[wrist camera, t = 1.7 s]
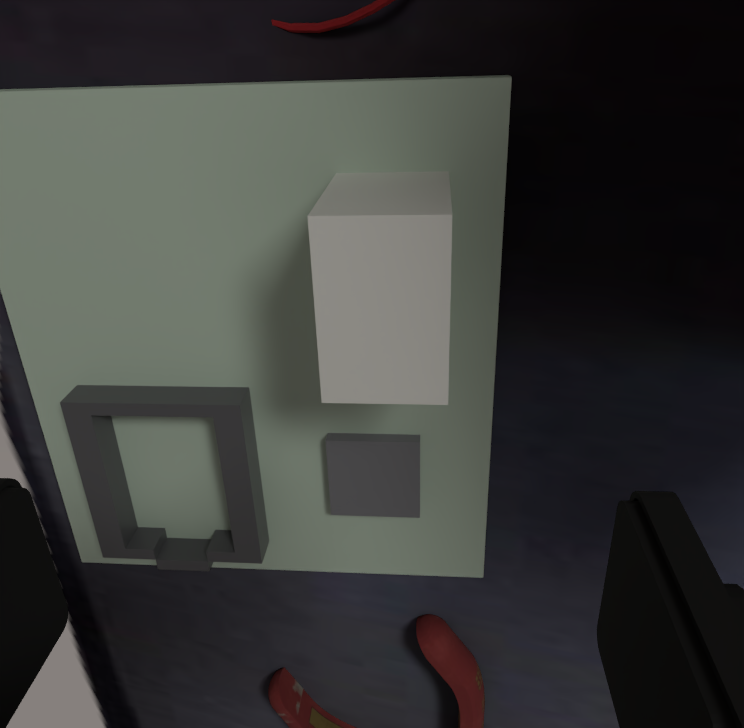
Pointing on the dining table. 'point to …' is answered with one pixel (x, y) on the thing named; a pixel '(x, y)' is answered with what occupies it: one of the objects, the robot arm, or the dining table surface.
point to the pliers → (440, 650)
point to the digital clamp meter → (333, 20)
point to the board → (252, 303)
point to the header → (110, 489)
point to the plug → (383, 287)
